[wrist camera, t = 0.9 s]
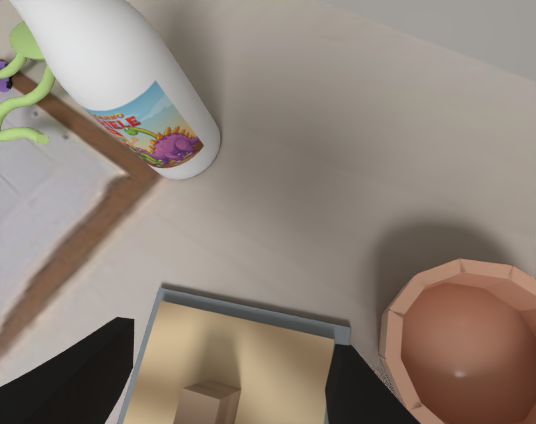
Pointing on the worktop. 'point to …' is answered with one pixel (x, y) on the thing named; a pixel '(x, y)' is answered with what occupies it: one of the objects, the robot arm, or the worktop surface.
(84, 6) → the milk bottle
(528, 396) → the terracotta bowl
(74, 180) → the worktop surface
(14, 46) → the figurine
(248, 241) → the worktop surface
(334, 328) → the shallow square tray
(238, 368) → the cover board
